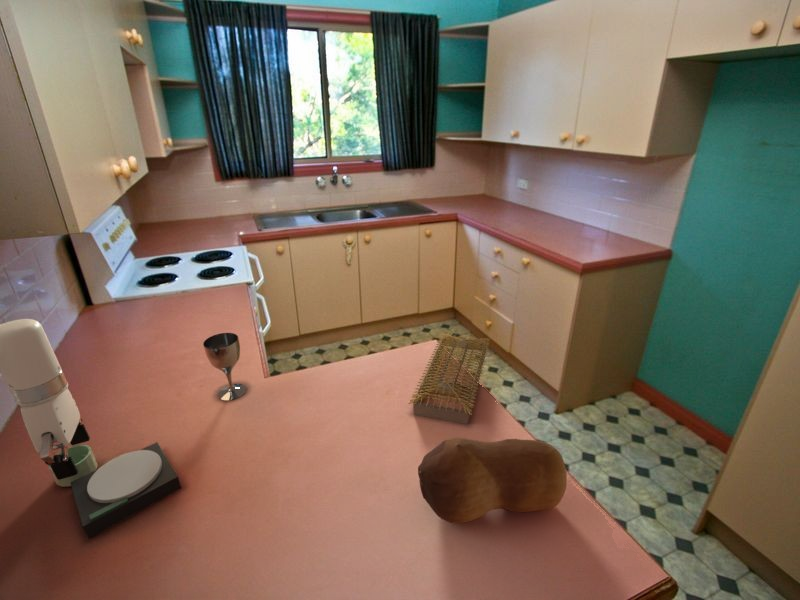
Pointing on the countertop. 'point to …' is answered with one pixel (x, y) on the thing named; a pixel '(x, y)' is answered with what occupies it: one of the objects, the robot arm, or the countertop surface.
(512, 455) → the butternut squash
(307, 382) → the countertop surface
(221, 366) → the wine glass
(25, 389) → the robot arm
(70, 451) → the bowl
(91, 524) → the scale
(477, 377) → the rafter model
